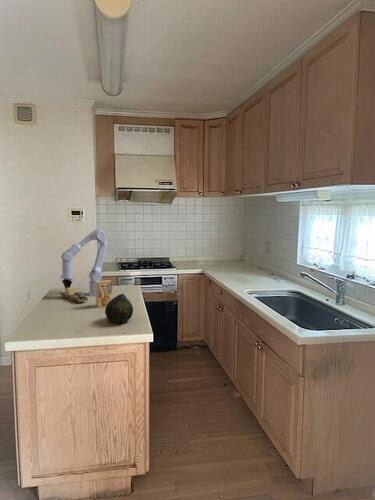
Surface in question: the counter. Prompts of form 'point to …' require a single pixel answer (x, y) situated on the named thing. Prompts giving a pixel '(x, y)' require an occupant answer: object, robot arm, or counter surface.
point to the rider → (70, 291)
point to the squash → (119, 309)
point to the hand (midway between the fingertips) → (67, 290)
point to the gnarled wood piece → (75, 297)
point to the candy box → (103, 293)
